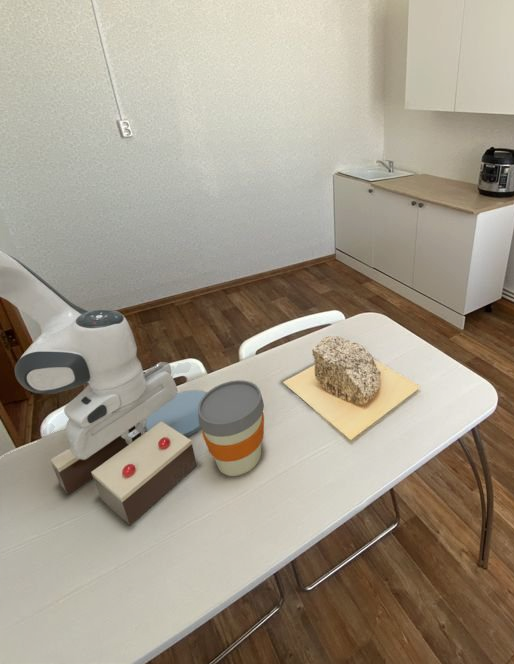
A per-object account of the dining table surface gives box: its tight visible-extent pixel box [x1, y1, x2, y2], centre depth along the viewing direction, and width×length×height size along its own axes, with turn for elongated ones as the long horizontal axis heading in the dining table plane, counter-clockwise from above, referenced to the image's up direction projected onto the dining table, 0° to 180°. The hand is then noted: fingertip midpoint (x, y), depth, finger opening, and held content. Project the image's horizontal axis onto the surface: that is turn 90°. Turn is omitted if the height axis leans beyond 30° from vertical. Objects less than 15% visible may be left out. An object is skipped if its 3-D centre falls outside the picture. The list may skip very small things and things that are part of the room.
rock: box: [282, 335, 422, 441], centre depth 101 cm, size 28×22×16 cm
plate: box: [145, 390, 207, 438], centre depth 92 cm, size 15×15×1 cm
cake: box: [91, 421, 198, 526], centre depth 75 cm, size 10×14×9 cm
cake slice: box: [50, 425, 136, 496], centre depth 79 cm, size 4×14×7 cm, turn 146°
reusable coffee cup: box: [198, 379, 265, 477], centre depth 79 cm, size 13×13×15 cm
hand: (135, 439), depth 80 cm, fingers closed
